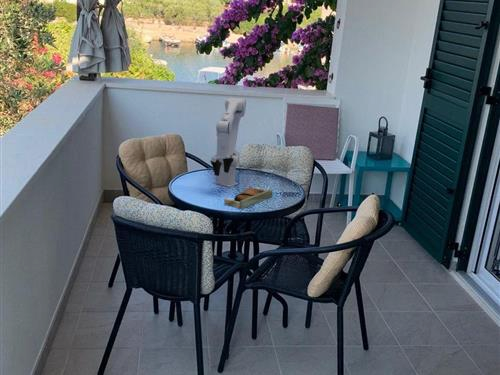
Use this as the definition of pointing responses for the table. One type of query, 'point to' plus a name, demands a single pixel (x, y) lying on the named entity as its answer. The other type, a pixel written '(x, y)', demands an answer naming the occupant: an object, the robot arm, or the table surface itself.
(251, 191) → the sunglasses case
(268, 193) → the dock
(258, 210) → the table surface
